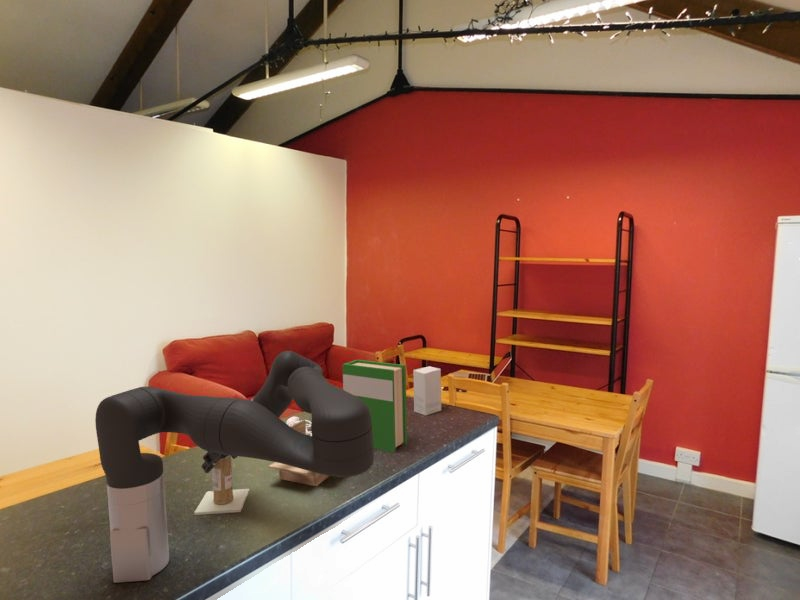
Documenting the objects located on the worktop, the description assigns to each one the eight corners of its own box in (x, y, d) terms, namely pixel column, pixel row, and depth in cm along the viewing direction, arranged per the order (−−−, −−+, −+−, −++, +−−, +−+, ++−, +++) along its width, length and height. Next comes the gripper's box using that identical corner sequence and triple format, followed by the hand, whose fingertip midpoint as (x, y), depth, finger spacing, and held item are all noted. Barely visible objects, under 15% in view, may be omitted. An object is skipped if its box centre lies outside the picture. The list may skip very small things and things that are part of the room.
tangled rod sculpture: (321, 446, 154) (322, 433, 154) (273, 450, 148) (274, 437, 148) (307, 425, 172) (308, 413, 171) (264, 428, 166) (265, 416, 166)
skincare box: (430, 407, 186) (429, 365, 185) (442, 411, 181) (442, 368, 180) (413, 412, 181) (412, 369, 180) (425, 416, 176) (424, 372, 174)
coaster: (240, 512, 113) (240, 509, 113) (194, 515, 112) (194, 512, 112) (249, 491, 123) (249, 488, 123) (207, 493, 122) (207, 491, 122)
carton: (360, 464, 137) (359, 421, 136) (320, 496, 119) (319, 447, 118) (313, 456, 143) (311, 415, 142) (269, 485, 126) (267, 438, 124)
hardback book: (407, 443, 151) (405, 365, 149) (393, 452, 145) (392, 370, 142) (359, 433, 160) (357, 359, 158) (344, 441, 154) (342, 364, 152)
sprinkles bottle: (236, 501, 116) (233, 445, 115) (215, 507, 114) (212, 449, 113) (230, 493, 120) (228, 439, 119) (210, 499, 118) (208, 443, 117)
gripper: (242, 444, 104) (204, 488, 110) (285, 423, 117) (249, 463, 123) (221, 416, 106) (185, 461, 111) (266, 398, 118) (231, 439, 124)
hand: (218, 462), depth 117 cm, fingers open, 8 cm apart
